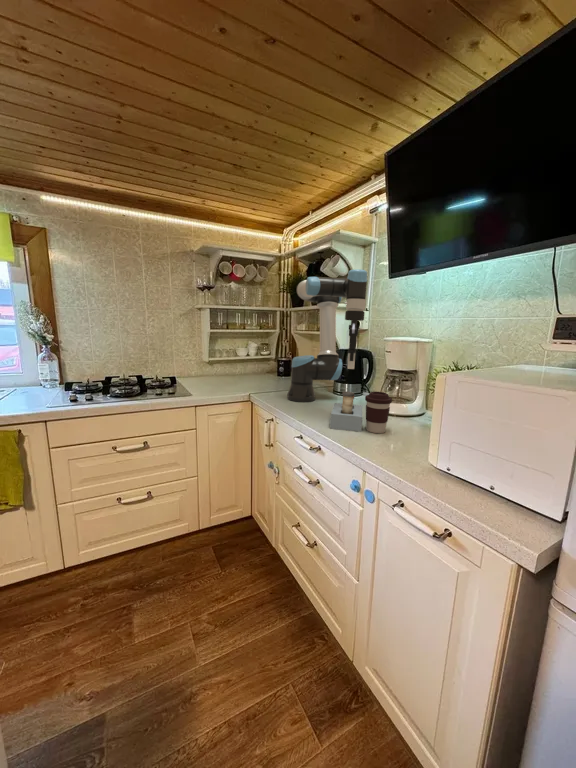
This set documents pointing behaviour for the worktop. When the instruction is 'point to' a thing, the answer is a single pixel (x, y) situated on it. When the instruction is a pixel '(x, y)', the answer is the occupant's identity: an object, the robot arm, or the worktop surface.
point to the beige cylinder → (347, 402)
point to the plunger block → (346, 418)
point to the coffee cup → (377, 411)
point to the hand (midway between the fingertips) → (350, 368)
